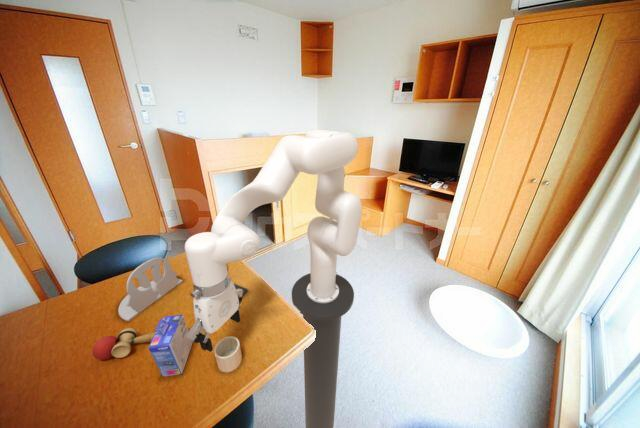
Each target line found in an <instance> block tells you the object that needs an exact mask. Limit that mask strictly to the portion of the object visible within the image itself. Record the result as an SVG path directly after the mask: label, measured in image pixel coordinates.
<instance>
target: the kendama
mask: <svg viewBox="0 0 640 428" xmlns="http://www.w3.org/2000/svg"><path fill="white" fill-rule="evenodd" d="M156 332H157V331H154V332H150V333H146V334H142V335H138V334H139V332H138V330H137V329H135V328H133V327H128V328H127V327H126V328H124V329H122V330H121V331H120V332H119V333H118V335H117V336H116V335H115V336H114V335H107V336H104V337H102V338H100V339H98V340H97V341H96V342H95V343H94V345H93V347H92V350H91V351H92V356H93V358H94V359H96V360H99V361H105V360H108V359H111V358H112V357H114V358H116V359H117V358H118V359H121V358H125V357H127V356H128V355H130V352H131V351H132V345H133V344H144V343H151V341H152V339H153V338H154V336H155V334H156Z"/></svg>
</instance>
